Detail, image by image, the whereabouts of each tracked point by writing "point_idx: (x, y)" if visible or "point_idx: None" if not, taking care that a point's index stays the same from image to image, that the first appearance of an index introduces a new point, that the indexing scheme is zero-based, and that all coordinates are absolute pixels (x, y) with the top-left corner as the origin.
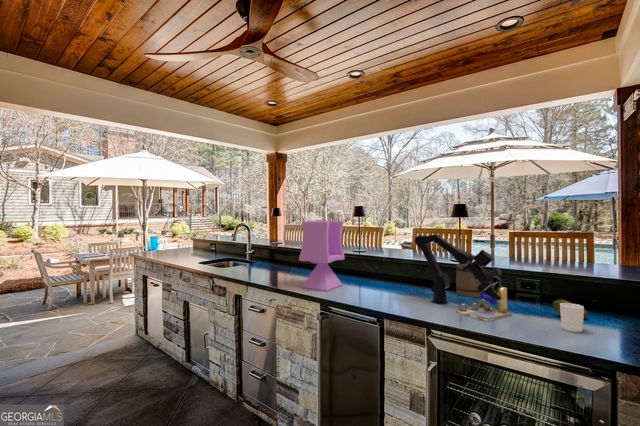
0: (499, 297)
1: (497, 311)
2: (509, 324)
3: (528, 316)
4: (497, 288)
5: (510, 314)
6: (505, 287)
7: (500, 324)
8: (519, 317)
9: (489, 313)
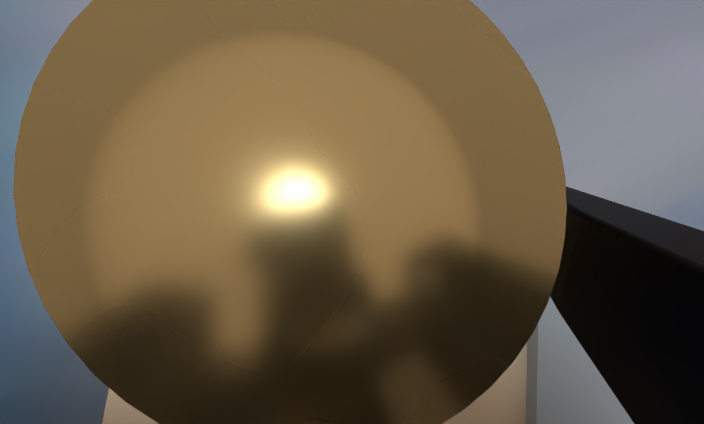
0: (589, 196)
1: None
2: (595, 70)
3: (11, 12)
4: (463, 380)
5: None
6: (86, 39)
7: (683, 137)
8: None
9: (566, 373)
